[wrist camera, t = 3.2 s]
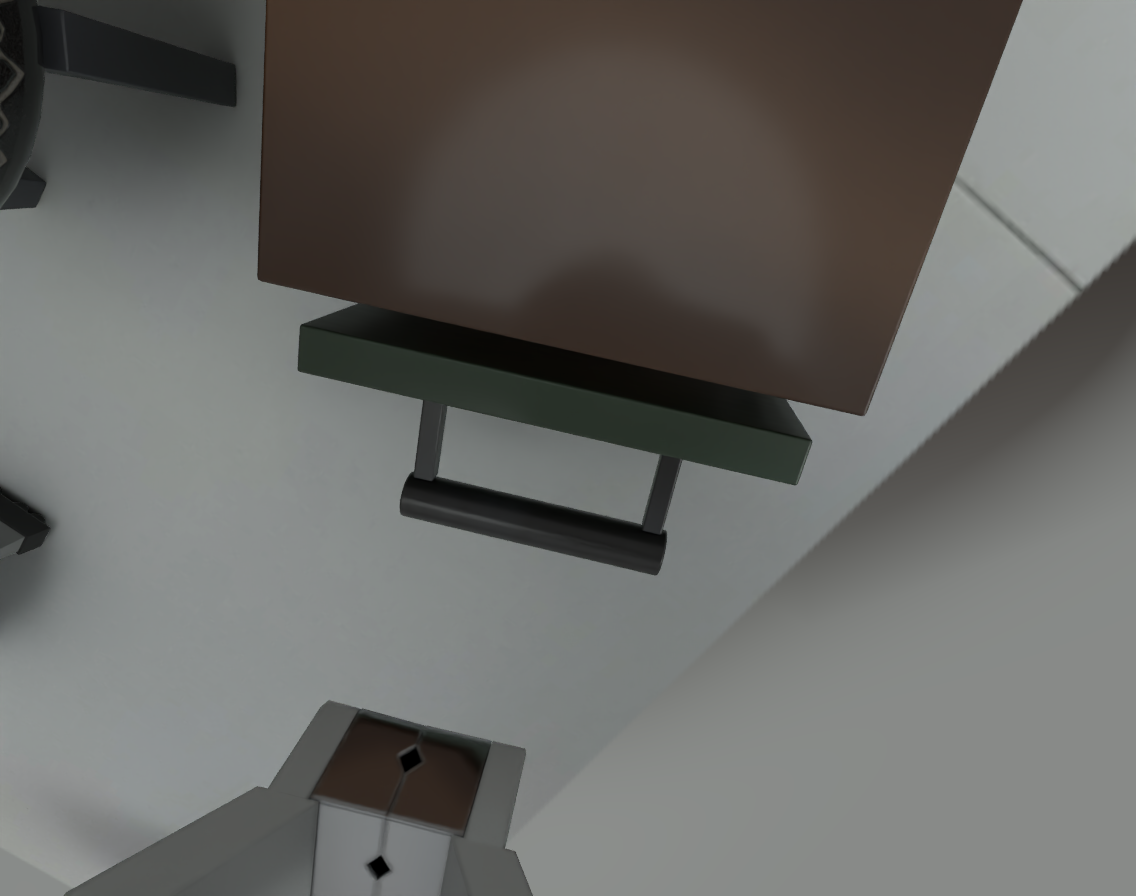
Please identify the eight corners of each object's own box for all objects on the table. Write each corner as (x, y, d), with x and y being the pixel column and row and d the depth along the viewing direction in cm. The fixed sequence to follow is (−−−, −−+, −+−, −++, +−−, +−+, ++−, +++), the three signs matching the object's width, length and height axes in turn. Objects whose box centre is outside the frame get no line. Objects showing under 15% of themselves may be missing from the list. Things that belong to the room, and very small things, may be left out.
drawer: (713, 515, 26) (738, 653, 18) (394, 441, 26) (286, 544, 19) (934, -198, 18) (1144, -493, 10) (477, -284, 19) (351, -627, 11)
